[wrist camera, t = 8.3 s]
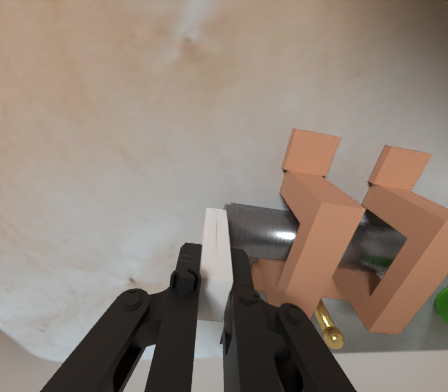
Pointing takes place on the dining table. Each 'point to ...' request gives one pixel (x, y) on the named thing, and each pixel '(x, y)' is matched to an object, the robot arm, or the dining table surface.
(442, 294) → the cup
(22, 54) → the dining table surface
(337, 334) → the pointer post
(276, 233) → the tube
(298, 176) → the collar
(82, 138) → the dining table surface
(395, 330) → the collar
